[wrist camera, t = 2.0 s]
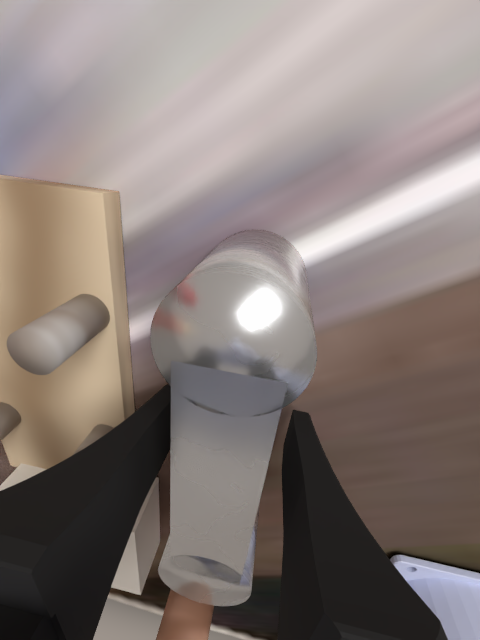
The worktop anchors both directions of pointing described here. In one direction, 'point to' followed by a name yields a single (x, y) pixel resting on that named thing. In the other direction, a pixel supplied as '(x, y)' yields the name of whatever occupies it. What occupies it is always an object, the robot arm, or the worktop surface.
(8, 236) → the peg board
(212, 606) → the pin
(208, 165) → the worktop surface
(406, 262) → the worktop surface
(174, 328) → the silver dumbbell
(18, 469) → the slot block
